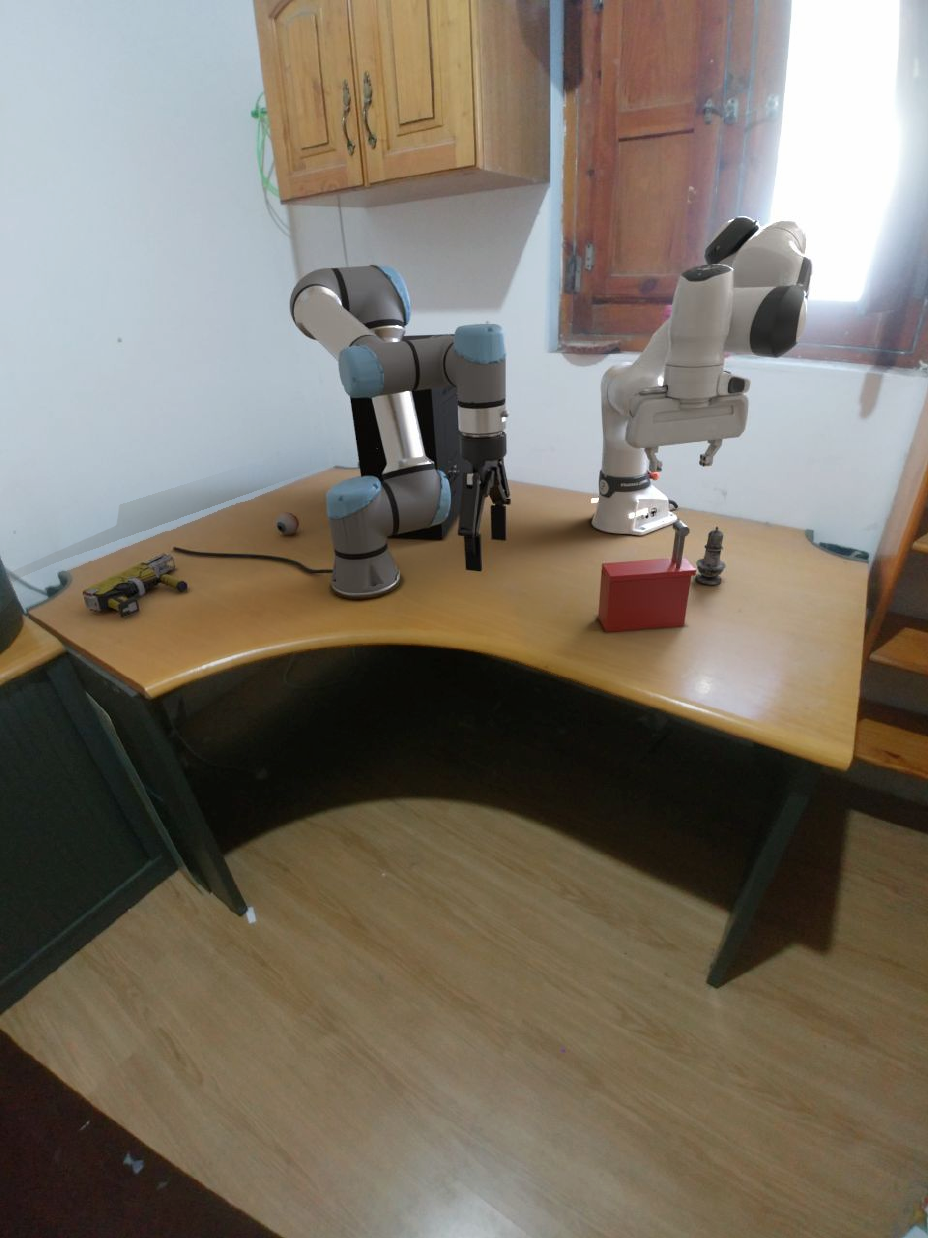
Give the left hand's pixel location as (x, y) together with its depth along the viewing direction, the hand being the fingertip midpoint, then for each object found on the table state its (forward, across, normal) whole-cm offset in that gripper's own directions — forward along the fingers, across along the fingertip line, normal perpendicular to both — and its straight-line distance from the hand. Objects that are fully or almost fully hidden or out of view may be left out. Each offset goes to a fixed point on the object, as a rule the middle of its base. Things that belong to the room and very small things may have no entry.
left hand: (487, 554), depth 107 cm
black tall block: (+16, +58, +39) cm, 72 cm away
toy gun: (+16, -5, +80) cm, 81 cm away
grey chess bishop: (+16, +34, -38) cm, 53 cm away
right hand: (-12, +16, -30) cm, 36 cm away
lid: (+6, +12, -27) cm, 30 cm away
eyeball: (+16, +34, +70) cm, 79 cm away
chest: (+16, +12, -26) cm, 33 cm away
